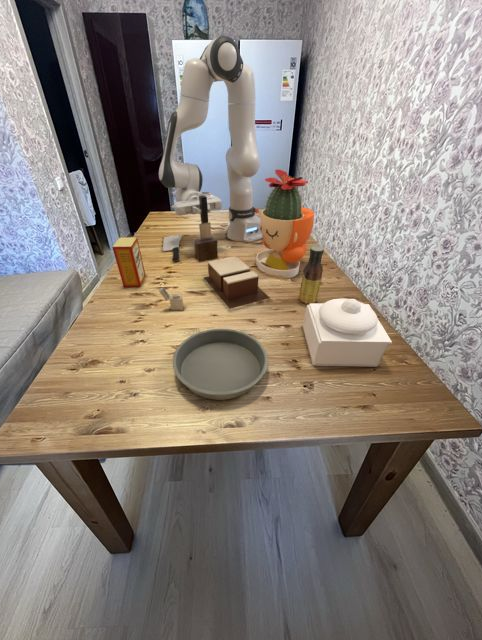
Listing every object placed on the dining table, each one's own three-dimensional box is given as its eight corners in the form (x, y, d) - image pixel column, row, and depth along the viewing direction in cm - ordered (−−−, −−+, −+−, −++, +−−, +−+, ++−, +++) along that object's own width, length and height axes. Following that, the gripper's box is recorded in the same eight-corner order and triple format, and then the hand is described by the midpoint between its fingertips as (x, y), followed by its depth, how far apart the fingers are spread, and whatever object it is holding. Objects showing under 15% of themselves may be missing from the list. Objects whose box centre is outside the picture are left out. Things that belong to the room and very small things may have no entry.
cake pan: (191, 420, 64) (189, 408, 61) (164, 353, 81) (162, 341, 78) (284, 386, 71) (286, 374, 68) (242, 331, 88) (242, 320, 85)
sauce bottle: (304, 295, 104) (315, 241, 91) (319, 302, 101) (332, 247, 87) (294, 302, 101) (303, 247, 87) (309, 309, 97) (321, 253, 84)
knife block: (213, 253, 133) (212, 236, 127) (217, 258, 129) (217, 240, 124) (195, 257, 130) (193, 239, 124) (199, 261, 126) (197, 243, 121)
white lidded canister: (302, 326, 90) (311, 281, 79) (359, 327, 90) (376, 282, 79) (312, 365, 77) (325, 317, 66) (379, 367, 76) (403, 318, 66)
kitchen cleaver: (163, 235, 148) (182, 232, 148) (164, 238, 149) (183, 235, 149) (159, 261, 125) (181, 257, 125) (160, 264, 126) (182, 261, 126)
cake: (208, 277, 113) (207, 261, 109) (235, 271, 117) (235, 256, 112) (220, 291, 105) (220, 274, 101) (249, 284, 109) (250, 268, 104)
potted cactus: (272, 282, 112) (283, 180, 89) (247, 260, 127) (250, 168, 104) (317, 271, 118) (338, 174, 95) (288, 252, 134) (299, 164, 110)
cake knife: (200, 251, 128) (195, 196, 113) (210, 248, 129) (207, 195, 114) (202, 253, 126) (198, 198, 111) (213, 251, 127) (209, 196, 113)
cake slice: (223, 294, 103) (223, 277, 99) (252, 287, 107) (253, 270, 103) (228, 299, 101) (228, 282, 96) (257, 292, 104) (258, 275, 100)
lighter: (183, 307, 99) (181, 286, 94) (183, 309, 98) (180, 289, 92) (163, 307, 99) (159, 286, 94) (162, 310, 98) (158, 289, 92)
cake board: (203, 279, 114) (203, 277, 113) (238, 271, 119) (238, 269, 118) (229, 311, 97) (229, 308, 96) (270, 300, 102) (270, 297, 101)
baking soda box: (129, 275, 117) (119, 236, 106) (145, 275, 117) (136, 236, 106) (123, 287, 110) (112, 246, 99) (140, 286, 110) (130, 245, 99)
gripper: (169, 197, 120) (179, 206, 110) (213, 191, 126) (226, 199, 117) (171, 213, 124) (181, 223, 114) (214, 207, 130) (227, 215, 121)
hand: (204, 211), depth 116 cm, fingers closed on cake knife, 2 cm apart
